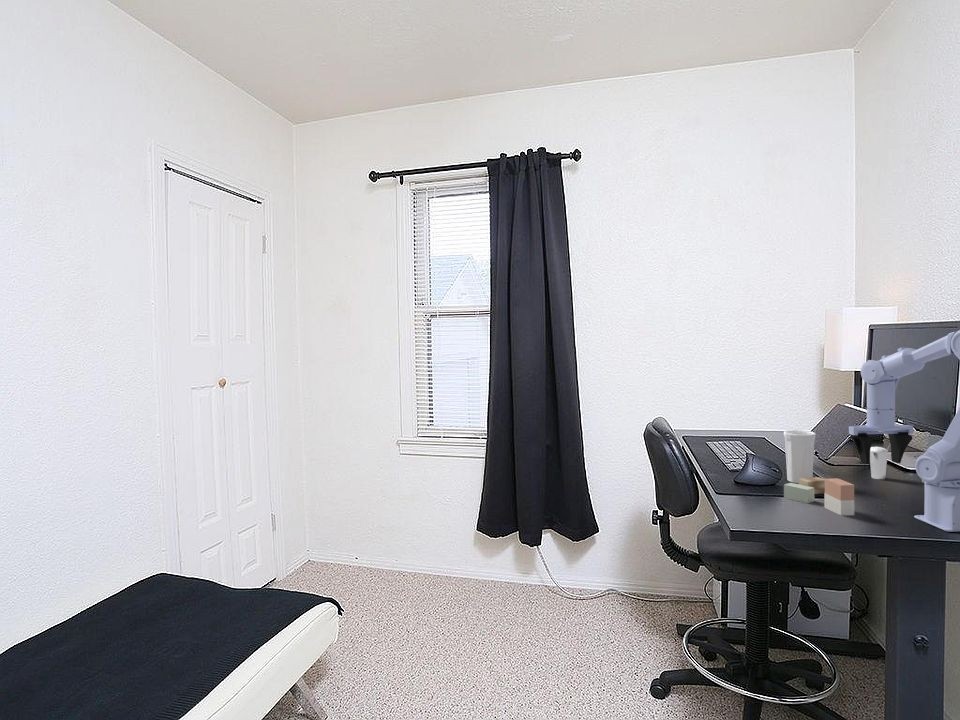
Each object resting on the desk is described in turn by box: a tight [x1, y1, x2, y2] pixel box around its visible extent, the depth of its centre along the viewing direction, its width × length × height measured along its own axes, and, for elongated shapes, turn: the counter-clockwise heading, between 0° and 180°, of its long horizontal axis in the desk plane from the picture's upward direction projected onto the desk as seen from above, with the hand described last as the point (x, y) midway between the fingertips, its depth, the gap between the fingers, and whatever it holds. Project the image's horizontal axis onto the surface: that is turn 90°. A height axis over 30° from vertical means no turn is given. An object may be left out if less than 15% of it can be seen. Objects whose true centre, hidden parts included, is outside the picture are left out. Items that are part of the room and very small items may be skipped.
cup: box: [783, 429, 817, 484], centre depth 159 cm, size 8×8×14 cm
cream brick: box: [823, 493, 855, 516], centre depth 133 cm, size 6×3×4 cm, turn 1°
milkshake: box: [869, 443, 891, 480], centre depth 161 cm, size 4×5×10 cm
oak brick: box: [798, 476, 826, 495], centre depth 149 cm, size 6×3×4 cm, turn 101°
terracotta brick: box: [824, 477, 855, 501], centre depth 133 cm, size 6×3×4 cm, turn 0°
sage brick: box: [783, 482, 815, 504], centre depth 143 cm, size 6×3×4 cm, turn 32°
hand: (880, 462), depth 139 cm, fingers open, 7 cm apart
